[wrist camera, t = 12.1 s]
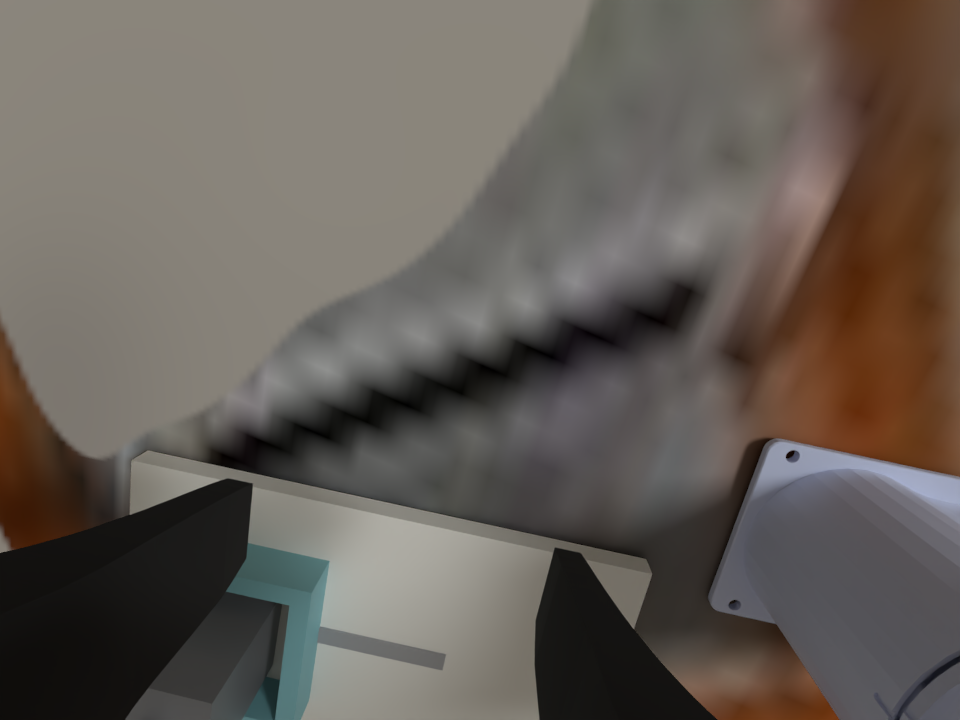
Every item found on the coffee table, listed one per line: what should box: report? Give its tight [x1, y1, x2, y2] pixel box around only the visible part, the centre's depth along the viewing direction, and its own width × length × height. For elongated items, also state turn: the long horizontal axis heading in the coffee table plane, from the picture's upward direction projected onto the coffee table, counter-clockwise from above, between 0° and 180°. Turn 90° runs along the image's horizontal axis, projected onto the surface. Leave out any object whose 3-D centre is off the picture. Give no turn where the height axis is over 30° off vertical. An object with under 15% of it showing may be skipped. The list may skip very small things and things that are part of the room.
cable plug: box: [125, 592, 282, 720], centre depth 20 cm, size 4×4×6 cm
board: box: [130, 450, 652, 720], centre depth 22 cm, size 22×13×3 cm, turn 79°
